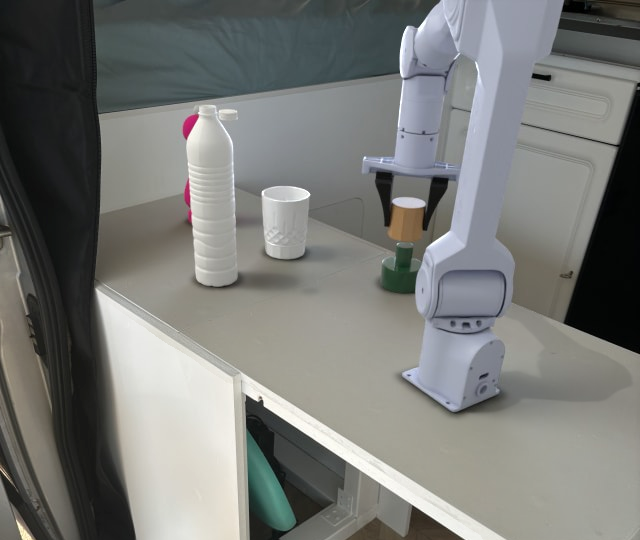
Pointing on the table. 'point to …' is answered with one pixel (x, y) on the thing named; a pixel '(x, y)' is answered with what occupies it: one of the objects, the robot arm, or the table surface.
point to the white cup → (285, 221)
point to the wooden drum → (406, 219)
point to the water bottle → (212, 197)
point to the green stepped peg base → (400, 270)
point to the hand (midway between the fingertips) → (406, 226)
